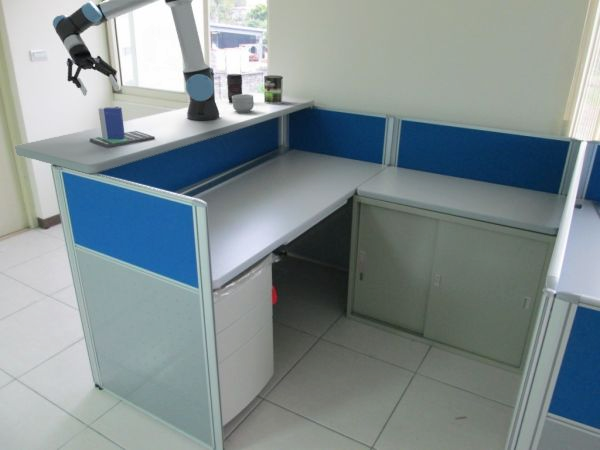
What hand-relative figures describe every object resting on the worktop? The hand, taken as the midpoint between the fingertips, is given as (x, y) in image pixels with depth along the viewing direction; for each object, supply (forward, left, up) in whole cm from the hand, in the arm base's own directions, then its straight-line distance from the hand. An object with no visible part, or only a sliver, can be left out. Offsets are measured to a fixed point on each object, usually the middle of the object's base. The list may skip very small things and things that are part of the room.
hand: (102, 91), depth 202 cm
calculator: (+1, +15, -17) cm, 23 cm away
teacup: (-74, 0, -17) cm, 76 cm away
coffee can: (-103, -8, -17) cm, 104 cm away
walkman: (+5, +15, -16) cm, 22 cm away
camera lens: (-87, -22, -17) cm, 91 cm away
